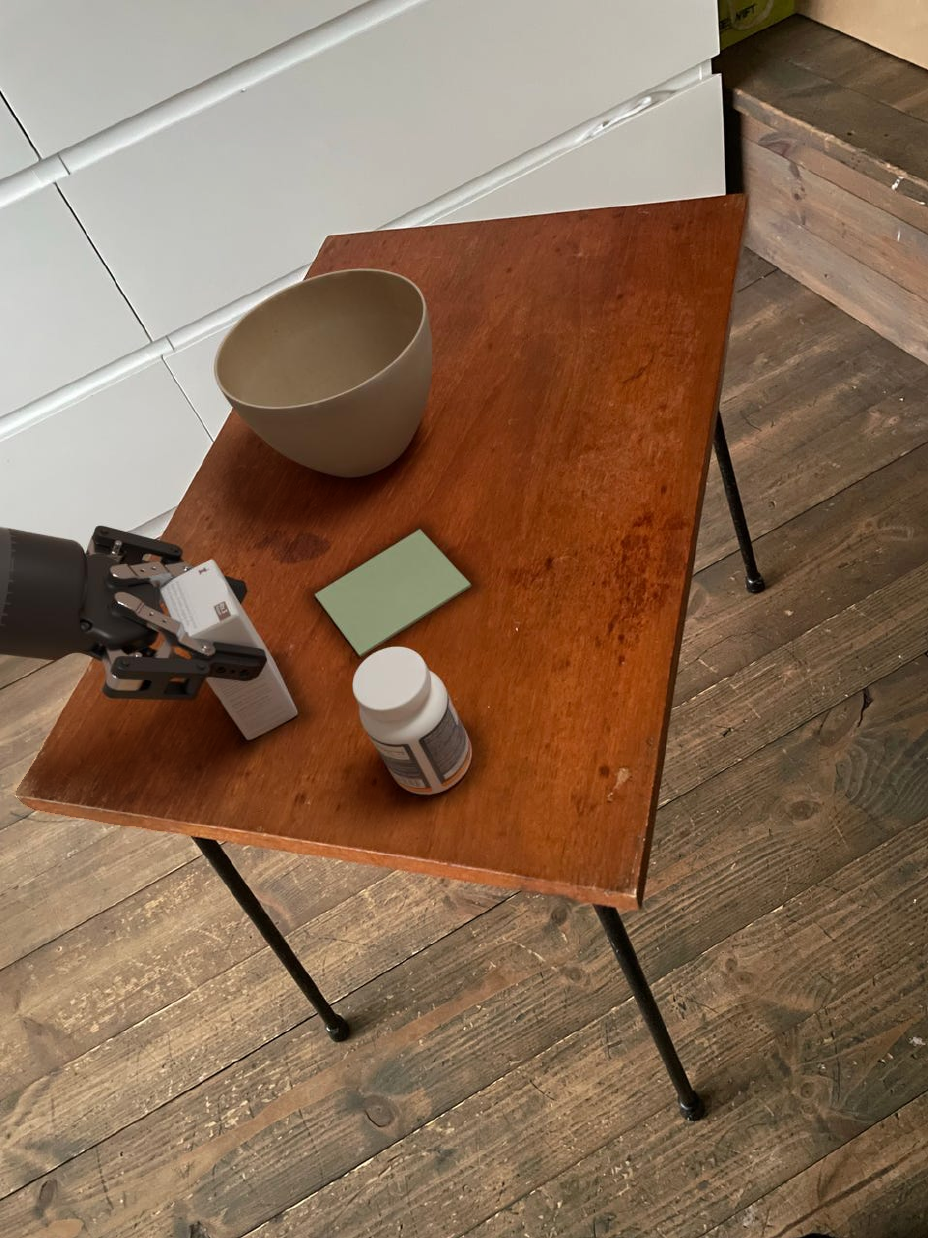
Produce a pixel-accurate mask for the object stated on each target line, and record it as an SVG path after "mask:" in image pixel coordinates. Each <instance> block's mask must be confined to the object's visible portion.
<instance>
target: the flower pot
mask: <svg viewBox="0 0 928 1238" xmlns="http://www.w3.org/2000/svg"><path fill="white" fill-rule="evenodd" d="M432 335H433V334H432V329H431V321H430V315H429V310H428V307H427V302H426V300H425V296H424V293H422V291H421V288H419V287H418V285H417V284H416V283H414V282H413V281H412V280H411V279H409V278H408V277H406V276H403V275H401V274H400V273H399V274H398V273H396V272H392V271H389V270H384V269H378V268H350V269H342V270H335V271H330V272H326V273H323V274H319V275H316V276H313V277H310V278H306V279H304V280H301V281H298V282H296V283H294V284H291V285H289V286H287V287H285V288H283V289H281V290H279V291H277V292H275V293H273V294H272V295H270V296H268V297H267V298H265V299H264V300H262V301H260V302H259V303H257V304H256V305H255V306H254V307H252V308H251V309H249V310H248V312H246V313H245V314H244V315H243V316H242V317H241V318H239V319H238V321H237V322H235V323H234V324H233V326H231V328H230V330H229V331H228V332H227V333H226V334H225V336H224V338H223V339H222V341H221V342H220V344H219V346H218V349H217V351H216V354H215V358H214V362H213V373H214V378H215V382H216V384H217V386H218V388H219V389H220V391H221V393H222V394H223V396H224V397H225V399H226V401H227V402H228V403H229V405H230V406H231V408H232V409H233V410H234V411H235V413H236V414H237V415H238V416H239V418H240V419H241V420H242V421H243V422H244V423H245V424H246V426H248V427H249V428H250V429H251V430H252V431H253V432H254V433H255V434H256V435H257V436H258V437H259V438H260V439H262V440H263V441H264V442H265V443H266V444H267V445H269V446H270V447H271V448H273V449H274V450H275V451H276V452H278V453H279V454H281V455H283V456H284V457H286V458H287V459H289V460H291V461H293V462H295V463H297V464H299V465H300V466H304V467H306V468H308V469H311V470H314V471H317V472H320V473H323V474H327V475H329V476H335V477H340V478H358V477H359V478H360V477H365V476H369V475H373V474H375V473H377V472H379V471H382V470H384V469H385V468H387V467H389V466H390V465H392V463H394V462H395V461H396V460H398V459H399V457H401V456H402V454H404V452H405V451H406V449H407V448H408V446H409V445H410V443H411V442H412V440H413V437H414V436H415V434H416V431H417V429H418V428H419V425H420V423H421V420H422V418H423V416H424V413H425V409H426V407H427V402H428V398H429V395H430V390H431V389H430V388H431V386H432V385H431V384H432V378H433V377H432V376H433V360H434V359H433V358H434V357H433V356H434V355H433V354H434V353H433V352H434V351H433V336H432Z"/></svg>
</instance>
